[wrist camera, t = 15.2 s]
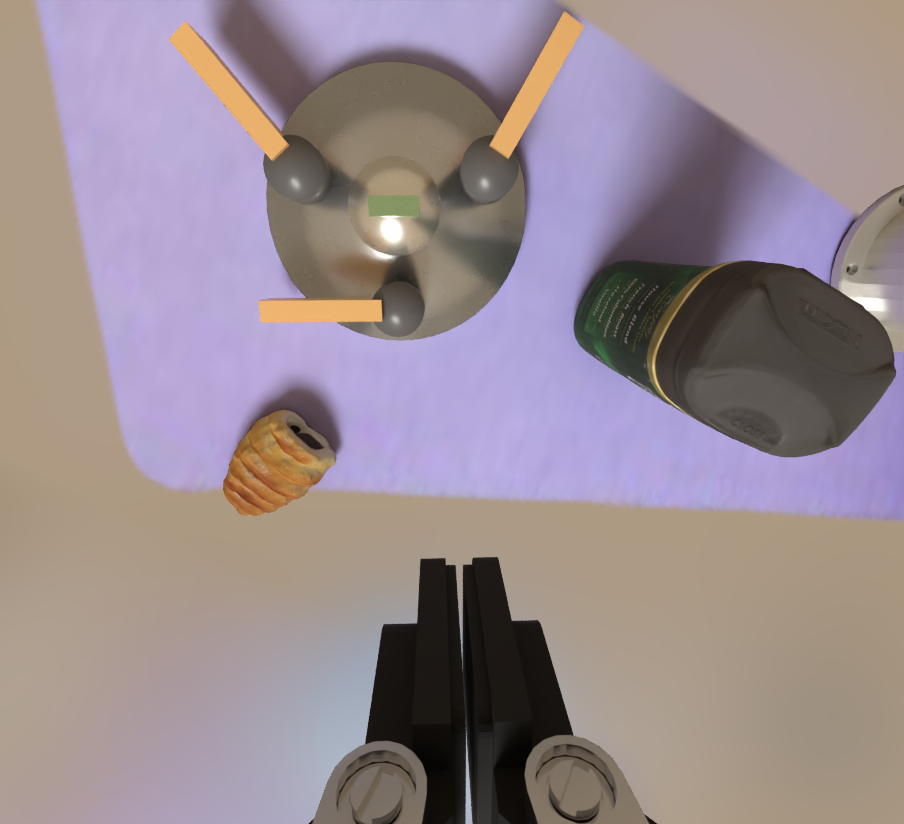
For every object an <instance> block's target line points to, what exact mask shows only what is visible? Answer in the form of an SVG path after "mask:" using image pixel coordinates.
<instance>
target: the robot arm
mask: <svg viewBox="0 0 904 824" xmlns="http://www.w3.org/2000/svg"><path fill="white" fill-rule="evenodd" d="M831 286H832V287H834V288H835V289H837V290H839V291H840V292H842V293H843V294H845V295H846V296H848V297H849V298H851V299H853V300H854V301H856V302H858V303H859V304H861V305H863V306H864V308H865V309H866V310H867V311H868V312H870V313H871V314H872V315H873V316H875V317H876V318H877V319H878V320H879V321H880V323H881V324H882V325H883V326H884V328H885V330H886V331H887V333H888V336H889V338H890V341H891V343H892V347H893V352H904V185H903V186H900V187H898V188H895V189H894V190H892V191H890V192H889V193H887V194H885V195H884V196H882V197H881V198H879V199H878V200H877V201H876V202H875V203H873V204H872V205H871V206H870V207H868V209H866V210H865V211H864V212H863V213H862V215H861V216H860V217H859V218H858V219H857V220H856V221H855V223H854V224H853V225H852V227H851V228H850V230H849V231H848V233H847V235H846V236H845V238H844V239H843V241H842V243H841V246H840V248H839V250H838V253H837V255H836V258H835V262H834V266H833V270H832V274H831ZM445 562H446V561H445V558H439V559H438V558H437V559H421V562H420V580H419V581H420V582H419V600H418V601H419V602H418V621H417V624H384V625H383V628H382V633H381V640H380V647H379V654H378V661H377V668H376V675H375V681H374V688H373V694H372V702H371V708H370V716H369V722H368V729H367V735H366V742H365V745H362V746H360V747H358V748H356V749H355V750H353V751H352V752H350V753H349V754H347V755H346V756H345V757H344V758H343V759H342V760H341V761H340V762H339V763H338V765H337V766H336V767H335V769H334V770H333V772H332V774H331V776H330V778H329V780H328V782H327V785H326V787H325V790H324V793H323V796H322V798H321V801H320V804H319V807H318V809H317V812H316V815H315V818H314V819H313V820H312V821H311V822H310V823H309V824H465V803H466V802H465V801H466V799H465V797H466V733H467V747H468V762H469V777H470V791H471V807H472V821H473V824H657V823H655V822H654V821H653V820H651V819H650V818H649V817H647V816H646V815H645V814H644V813H643V811H642V809H641V808H640V805H639V804H638V802H637V800H636V798H635V796H634V794H633V792H632V790H631V788H630V786H629V785H628V783H627V781H626V779H625V777H624V775H623V773H622V771H621V770H620V768H619V767H618V765H617V764H616V763H615V761H614V760H613V758H612V757H611V756H610V755H609V754H607V753H606V752H605V751H604V750H603V749H602V748H601V747H600V746H598V745H596V744H594V743H592V742H590V741H588V740H587V739H584V738H580V737H576V736H574V735H573V732H572V728H571V725H570V722H569V719H568V715H567V711H566V708H565V705H564V701H563V698H562V695H561V691H560V688H559V684H558V681H557V678H556V674H555V671H554V667H553V664H552V661H551V657H550V654H549V651H548V647H547V644H546V641H545V637H544V634H543V630H542V627H541V624H540V622H539V621H538V620H535V621H534V620H532V621H512V620H511V615H510V611H509V607H508V601H507V597H506V592H505V588H504V583H503V578H502V574H501V569H500V564H499V560H498V558H497V557H483V558H473V559H472V565H463V670H462V657H461V656H462V655H461V640H460V626H459V611H458V598H457V597H458V596H457V581H456V567H455V565H446V563H445ZM465 718H466V720H465ZM466 731H467V732H466Z"/></svg>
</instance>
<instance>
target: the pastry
mask: <svg viewBox="0 0 904 824" xmlns="http://www.w3.org/2000/svg"><path fill="white" fill-rule="evenodd" d="M335 462H336V454H335V452H334V451H333V449H332V448H331V447H330V446H329V443H328V442H327V440H326V439H325V438H324V437H323V436H322V435H320V434H318V433H317V432H316V431H314V430H313V429H311V428H309V427H308V426H307V425H306V423H305V421H304V420H303V419H302V418H301V417H300V416H298V415H297V414H296V413H295V412H292V411H288V410H279V411H275V412H273V413H271V414H270V415H268V416H266V417H263V418H261V419H259V420H257V421H256V422H255V423H254V425H253V426H252V428H251V430H250V431H249V432H248V433H247V434H246V436H245V437H244V438H243V439H242V440H241V441H240V442H239V443H238V447H237V449H236V450H235V452H234V454H233V457H232V461H231V462H230V464H229V469H228V474H227V476H226V478H225V479H224V483H223V491H224V493H225V496H226V498H227V499H228V501H229V502H230V503H231V504H232V505H233V506H234V507H235V508H236V510H237V511H238V513H240V514H241V515H253V516H257V515H261V514H264V513H265V512H267V513H269V512H273V511H275V510H277V509H278V508H280V507H282V506H284V505H287V504H288V503H289V502H290V501H292V500H294V499H298V498H300V497H302V496H304V495H305V494H306V493H307V491H308V489H309V488H310V487H311V486H312V485H315V484H317V483H318V482H319V481H320V480H321V478H322V477H323V475H324V474H325V472H326V471H327V470H328V469H329V468H330V467H331V466H333V465H334V464H335Z"/></svg>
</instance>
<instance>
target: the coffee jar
mask: <svg viewBox="0 0 904 824" xmlns="http://www.w3.org/2000/svg"><path fill="white" fill-rule="evenodd" d="M574 333H575V337H576V339H577V341H578V343H579V345H580V346H581V347H582V348H583V349H584V350H585V351H586V352H588V353H589V354H590V355H592V356H593V357H594V358H596V359H597V360H599V361H600V362H602V363H603V364H605V365H606V366H608V367H609V368H611V369H612V370H614V371H616V372H617V373H619V374H621V375H622V376H624V377H626V378H627V379H629V380H630V381H632V382H633V383H635V384H636V385H638V386H639V387H641V388H642V389H644V390H646V391H647V392H649V393H650V394H652V395H653V396H655V397H657V398H659V399H660V400H662V401H664V402H665V403H667V404H669V405H670V406H672V407H674V408H676V409H678V410H679V411H681V412H683V413H685V414H687V415H689V416H691V417H692V418H694V419H696V420H697V421H699V422H701V423H703V424H705V425H707V426H709V427H711V428H713V429H715V430H716V431H718V432H721V433H722V434H724V435H726V436H729V437H730V438H732V439H735V440H738V441H740V442H742V443H744V444H747V445H749V446H752V447H754V448H756V449H758V450H760V451H762V452H765V453H768V454H771V455H775V456H780V457H801V456H807V455H812V454H816V453H819V452H823V451H825V450H827V449H830V448H834V447H838V446H839V445H841V444H842V443H843V442H844V441H845V440H846V439H847V438H848V437H849V436H850V435H851V433H852V432H853V431H854V430H855V429H856V428H857V427H858V426H859V425H860V423H861V422H862V421H863V420H864V419H865V418H866V416H867V415H868V414H869V413H870V412H871V410H872V409H873V408H874V407H875V405H876V404H877V403H878V401H879V400H880V399H881V397H882V396H883V394H884V393H885V391H886V390H887V388H888V387H889V386H890V384H891V383H892V381H893V379H894V378H895V376H896V370H895V367H894V352H893V347H892V343H891V341H890V338H889V336H888V333H887V331H886V330H885V328H884V326H883V325H882V324H881V323H880V321H879V320H878V319H877V318H876V317H875V316H873V315H872V314H871V313H870V312H868V311H867V310H866V309H865V308H864V306H863V305H861V304H859V303H858V302H856V301H854V300H853V299H851V298H849V297H848V296H846V295H845V294H843V293H842V292H840V291H839V290H837V289H835V288H834V287H832V286H831V285H829V284H827V283H825V282H824V281H822V280H821V279H819V278H818V277H816V276H815V275H813V274H811V273H810V272H808V271H807V270H805V269H804V268H795V267H792V266H788V265H784V264H775V263H766V262H758V261H733V262H727V263H723V264H719V265H716V266H714V267H709V266H691V265H677V264H664V263H654V262H645V261H620V262H616V263H614V264H612V265H610V266H608V267H607V268H605V269H604V270H603V271H602V272H601V273H600V274H599V275H598V276H597V277H596V279H595V280H594V282H593V283H592V284H591V286H590V288H589V289H588V291H587V292H586V294H585V296H584V298H583V299H582V301H581V303H580V306H579V308H578V310H577V313H576V316H575V320H574Z"/></svg>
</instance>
